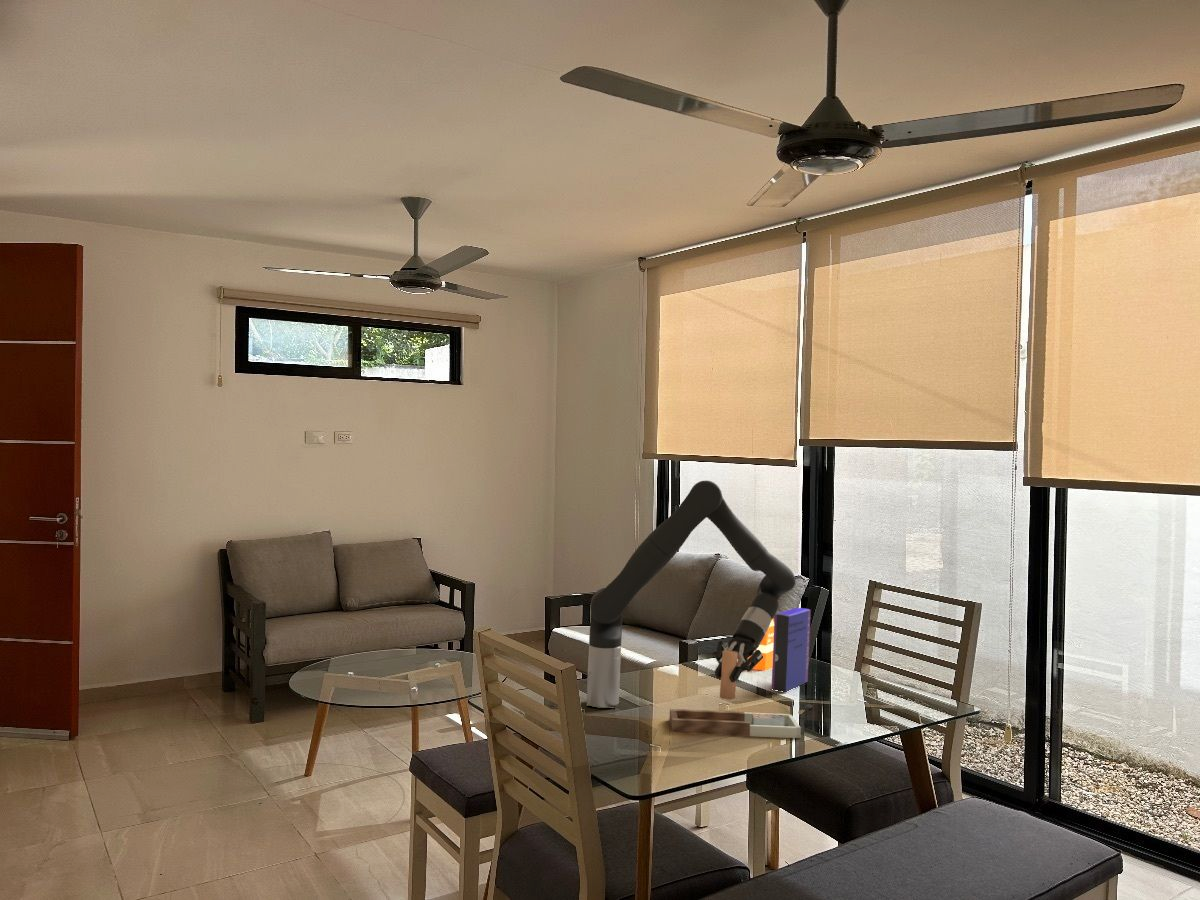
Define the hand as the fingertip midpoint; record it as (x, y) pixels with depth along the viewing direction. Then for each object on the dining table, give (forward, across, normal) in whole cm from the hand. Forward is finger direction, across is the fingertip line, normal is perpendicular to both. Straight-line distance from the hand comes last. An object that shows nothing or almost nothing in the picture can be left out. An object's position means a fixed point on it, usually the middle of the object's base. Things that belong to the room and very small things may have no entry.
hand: (724, 678), depth 237 cm
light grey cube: (+4, +7, +15) cm, 17 cm away
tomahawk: (-11, +6, +32) cm, 35 cm away
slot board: (+11, -3, +9) cm, 15 cm away
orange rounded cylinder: (+2, 0, +5) cm, 6 cm away
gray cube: (+2, +10, +17) cm, 20 cm away
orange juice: (-40, -35, +61) cm, 81 cm away
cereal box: (-30, -14, +50) cm, 60 cm away
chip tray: (+3, +9, +17) cm, 19 cm away
